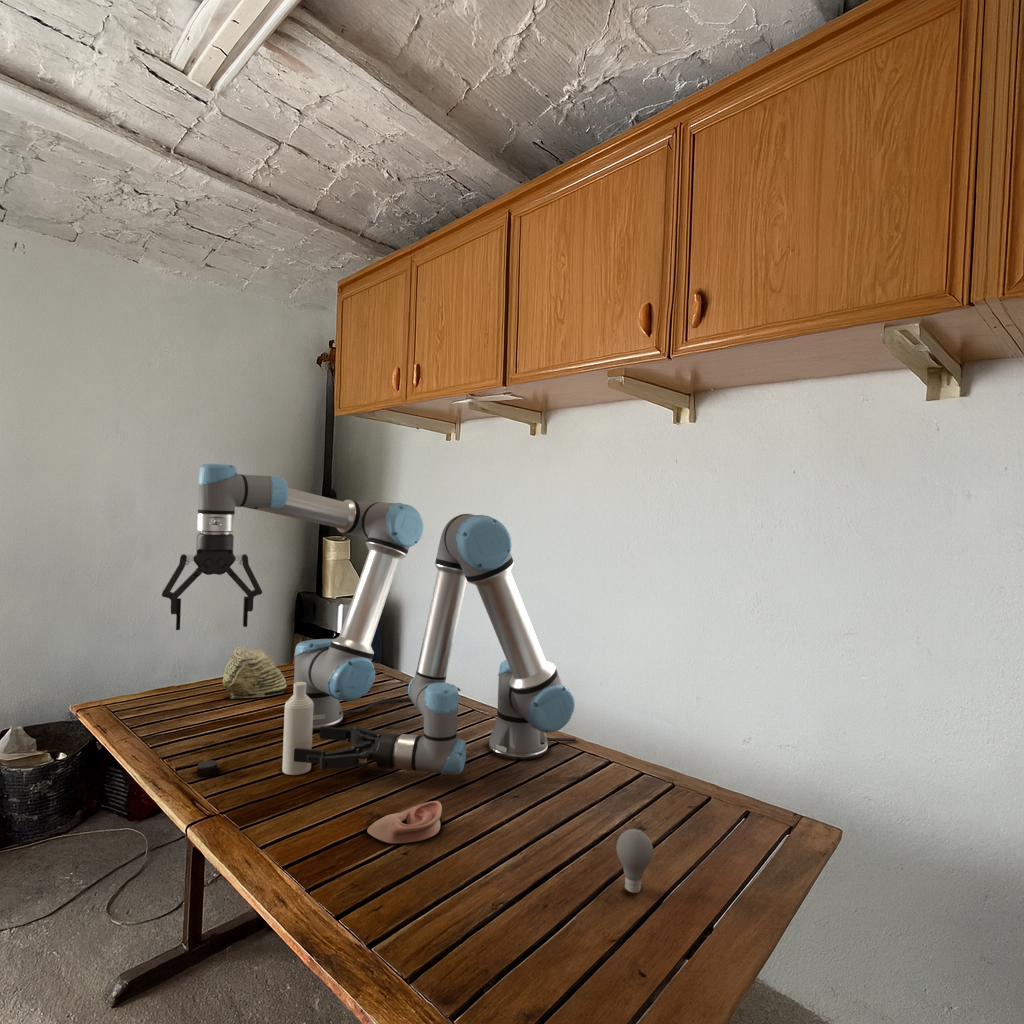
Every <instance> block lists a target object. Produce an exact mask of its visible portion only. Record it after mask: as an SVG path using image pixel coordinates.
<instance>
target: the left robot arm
mask: <svg viewBox="0 0 1024 1024" xmlns="http://www.w3.org/2000/svg"><path fill="white" fill-rule="evenodd" d="M197 487H198V488H197V489H198V490H197V499H198V500H197V516H196V517H197V519H196V520H197V521H196V522H197V523H196V531H198V532H199V533H197V534H196V545H195V546H196V547H195V554H194V555H189V554H185V553H182V554H181V555H180V557H179V563H178V565H177V566H176V568H175V570H174V571H173V573H172V574H171V577H170V579H169V580H168V582H167V583H166V585H165V587H164V589H163V590H162V592H161V596H162V598H166V599H169V600H170V614H171V615H176V618H175V620H176V621H175V631H180V630H181V615H182V614H181V613H182V610H181V609H182V598H179V597H180V596H182V594H184V593H185V591H186V590H187V589H188V588H189V587H190V586H191V585H192V584H193V583H194V582H195V581H196V580H197V578H199V577H200V576H201V575H202V574H204V575H207V576H211V575H218V576H221V575H224V574H225V573H226V574H227V575H228V576H229V578H231V579H232V580H233V582H235V584H236V585H237V586H238V587H239V588H240V589H241V590H242V591H243V592H244V594H245V596H243V605H242V606H243V608H242V626H243V628H247V627H248V619H249V618H248V617H249V612H253V610H254V598H255V597H256V596H261V595H262V594H263V589H262V588H261V586H260V584H259V581H258V580H257V578H256V576H255V574H254V572H253V570H252V568H251V566H250V564H249V563H250V562H249V556H248V555H247V553H243V554H240V555H235V554H234V541H235V540H234V539H235V538H234V537H235V536H234V534H233V532H234V531H235V514H236V512H235V511H236V508H244V509H245V508H246V509H250V510H256V511H260V512H265V513H270V514H273V515H274V514H275V515H278V516H283V517H287V518H291V519H296V520H301V521H305V522H310V523H315V524H320V525H323V526H328V527H333V528H336V529H337V531H338V532H340V533H342V534H346V535H351V536H354V537H356V538H359V539H362V540H364V541H366V542H365V545H366V547H367V550H368V554H367V556H366V559H365V562H364V565H363V567H362V571H361V574H360V576H359V580H358V582H357V584H356V585H357V586H356V587H355V591H354V594H353V597H352V599H351V602H350V604H349V608H348V611H347V614H346V616H345V619H344V622H343V625H342V628H341V631H340V634H339V636H337V637H336V638H319V639H308V640H303V641H300V642H299V643H298V642H297V644H296V646H295V650H294V655H293V657H294V672H293V684H294V683H296V682H305V683H306V684H307V685H306V695H307V696H308V697H309V698H310V699H311V700H312V701H313V703H314V704H313V730H312V733H316V732H320V727H321V726H322V727H333V728H338V727H339V726H340V725H342V723H343V722H344V714H357V713H361V712H364V711H366V710H367V709H369V708H371V707H374V706H377V705H380V704H386V703H393V702H405V701H411V700H410V697H403V698H402V697H401V698H392V699H385V700H384V699H383V700H380V701H376V702H375V701H374V702H372V703H370V704H368V705H366V706H364V707H363V708H360V709H355V710H353V709H350V710H349V709H348V710H343V709H342V706H341V702H340V700H341V701H344V702H353V701H357V700H359V699H360V698H361V697H363V696H365V695H366V694H367V693H368V692H369V691H370V689H372V686H373V684H374V682H375V680H376V679H375V678H376V669H375V666H374V664H373V662H372V661H373V658H374V654H375V652H374V650H373V647H372V643H373V640H374V637H375V634H376V631H377V628H378V625H379V621H380V619H381V616H382V613H383V610H384V607H385V604H386V602H387V599H388V595H389V593H390V589H391V586H392V583H393V581H394V578H395V575H396V571H397V568H398V565H399V564H400V563H399V562H400V561H401V560H402V559H405V558H406V557H407V556H408V553H409V550H410V548H411V547H413V546H415V545H417V544H418V543H419V542H420V541H421V539H422V537H423V533H424V521H423V518H422V517H421V513H420V512H419V511H418V509H416V508H415V507H414V506H412V505H410V504H407V503H402V502H380V501H358V500H352V499H345V500H344V501H343V500H339V499H335V498H331V497H327V496H322V495H318V494H314V493H310V492H306V491H303V490H299V489H294V488H292V487H289V486H288V483H287V481H286V479H285V478H283V477H282V476H274V475H259V474H258V475H257V474H241V473H238V471H237V467H236V466H235V465H234V464H224V463H203V464H202V465H201V466H200V467H199V473H198V482H197ZM236 561H237V562H238V564H239V565H242V567H243V569H244V572H245V573H246V575H247V577H248V580H249V581H250V583H251V585H252V587H253V590H252V589H250V588H249V587H248V585H247V584H246V583H245V582H244V581H243V580H242V579H241V577H240V576H239V575H238V574H237V572H235V571H234V569H233V568H231V567H232V566H233V564H234V563H235V562H236ZM191 562H194V563H195V565H196V566H197V567H196V569H195V570H193V572H192V573H191V574H190V575H188V577H187V578H186V579H185V580H184V581H183V582H182V583H181V584H180V585H179V586H178V587H177V588H176V589H175V590H174V591H173V592H172V590H173V588H174V586H175V584H176V583H177V581H178V580H179V577H181V574H182V573H183V572H184V569H185V567H186V566H188V565H190V563H191ZM456 687H457V689H458V692H461V688H460V687H458V686H456Z"/></svg>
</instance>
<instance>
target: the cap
mask: <svg viewBox="0 0 1024 1024" xmlns="http://www.w3.org/2000/svg"><path fill="white" fill-rule="evenodd" d="M217 772H218V762H217V760H213V759H210V760H203V761H201V762H198V764H197V768H196V775H197V776H199V777H210V776H213V775H215V774H216V773H217Z"/></svg>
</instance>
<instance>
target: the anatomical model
mask: <svg viewBox="0 0 1024 1024" xmlns="http://www.w3.org/2000/svg"><path fill="white" fill-rule="evenodd" d="M442 812H443V807H442V804H441V802H440V801H438V800H431V801H426V802H424V803H421V804H418V805H415V806H412V807H410V808H408V809H405V810H403V811H401V812H397V813H391V814H387V815H385V816H383V817H381V818H379V819H377V820H376V821H374V822H373V823H372V824H371V825H369V826H368V828H367V831H366V832H367V833H368V834H369V835H370V836H372V837H373V838H375V839H377V840H379V841H381V842H384V843H387V844H394V845H395V844H408V843H414V842H420V841H424V840H426V839H429V838H432V837H434V836H436V835H437V834H438V833H439V831H440V829H441V820H440V819H441V816H442Z"/></svg>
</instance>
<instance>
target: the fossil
mask: <svg viewBox="0 0 1024 1024" xmlns="http://www.w3.org/2000/svg"><path fill="white" fill-rule="evenodd" d="M222 676H223V677H222V685H223V687H224V688H225V690H226V691H228V693H229V698H230V699H250V698H264V697H271V696H275V695H281V694H284V693H285V691H286V689H287V687H288V686H287V680H286V678H285V676H284V674H283V673H282V672H281V669H279V668H278V667H277V665H276V663H275V662H274V660H273V659H272V658H271V657H270V656H269V655H268V654H267V653H266V652H265V650H264V649H263V648H260V647H258V648H251V647H247V646H246V647H245V646H238V647H237V648H236V649H235V650H233V651H232V653H231V656H230V657H229V659H228V660H227V663H226V666H225V668H224V671H223V675H222Z"/></svg>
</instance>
